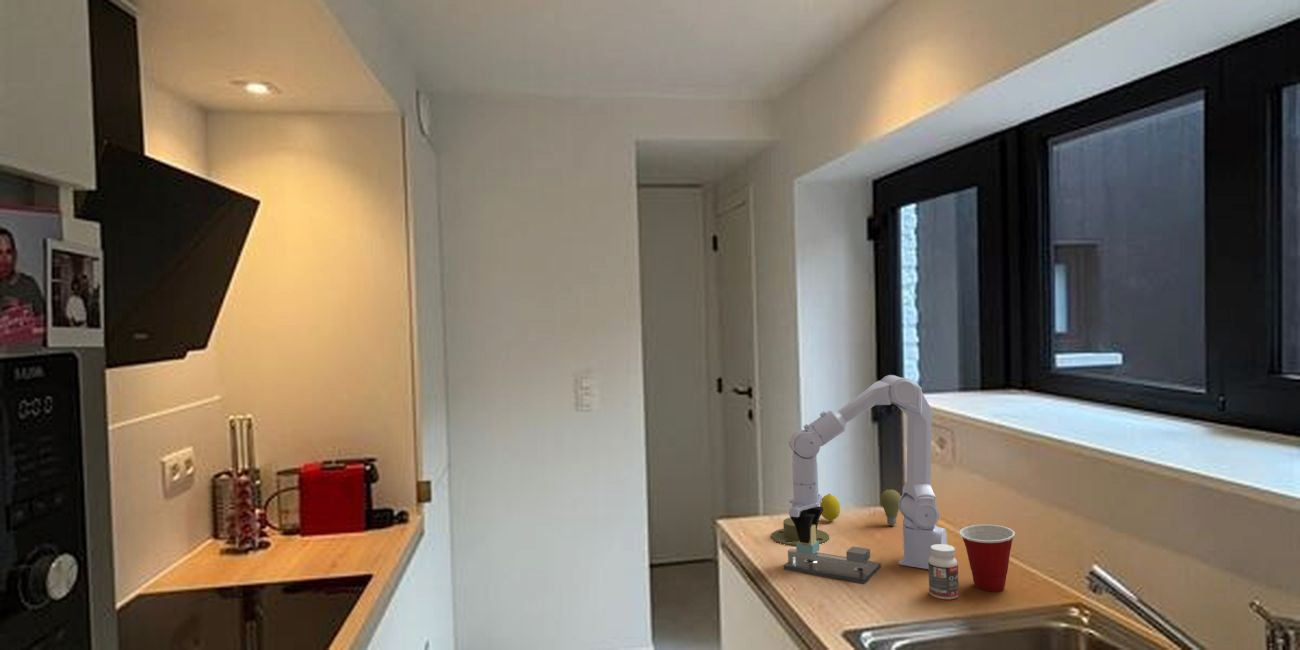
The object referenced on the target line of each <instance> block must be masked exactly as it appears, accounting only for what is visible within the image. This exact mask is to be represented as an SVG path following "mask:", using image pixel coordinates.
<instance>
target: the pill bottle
mask: <svg viewBox="0 0 1300 650" xmlns="http://www.w3.org/2000/svg"><path fill="white" fill-rule="evenodd" d="M931 553H932V556H930V558H929V560H928V566H929V569H928V592H929V593H930V595H931V596H932V597H934V598H936V599H941V600H954V599H955V600H956V598H958V597H959V589H960V588H959V587H960V586H959V563H958V560H957V559H956V558H955V555H956V549H955V547H954V546H952V545H951V544H947V545H946V544H935V545H932V546H931Z"/></svg>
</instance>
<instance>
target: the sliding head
mask: <svg viewBox="0 0 1300 650" xmlns="http://www.w3.org/2000/svg"><path fill="white" fill-rule="evenodd" d="M819 541H820V540H819ZM819 541H816V525H815V524H812V525H811V533H810V541H809V543H802V542H800V541H799V542H798V543H796V546H795V547H796V549H795V550H796V551H797V552H799V553H805V554H811V555H813V554H815V553H816V552H817V553H818V552H819V550H820V545H819ZM809 560H810V559H809ZM811 561H812V560H811Z"/></svg>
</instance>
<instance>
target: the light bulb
mask: <svg viewBox="0 0 1300 650" xmlns="http://www.w3.org/2000/svg"><path fill="white" fill-rule="evenodd" d="M901 496H902V495H901V494H900V492H898V491H897V490H895V489H892V488H891V489H889V488H887V489H886V490H884V491H882V493H881V494H880V497H879V499H880V504H881V507H882V509H883V511H884V515H885V516H886V520H887V521H886V522H887V525H889V526H890V527H894V526H895V525H896V524H897V517H898V513H899V511H900V510H899V500H900V498H901Z"/></svg>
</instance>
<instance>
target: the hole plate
mask: <svg viewBox="0 0 1300 650" xmlns="http://www.w3.org/2000/svg"><path fill="white" fill-rule="evenodd" d="M816 553H818V551H817V552H816ZM819 553H820V554H826V555H832V556H838V557H844V558H847V556H842V555H841V556H840V555H836V554H829V553H824V552H823V553H822V552H819ZM868 561H869V562H870V571H871V573H870V574H869V575H863V569H859V568H857V567H851V566H845V565H840V564H834V563H828V562H822V561H816V560H812V561H811V560H809V559H804V558H798V557H796V561H794V562H788V561H787V562H785V564H783V570H784V571H785V570H786V571H791V572H795V573H801V574H808V575H812V576H818V577H824V578H828V577H829V579H833V578H834V580H839V581H844V580H845V582H851V583H855V584H861V585H865V584H866V583H867V582H868V581H869V580H870V579H871V578H873V576H874V575H876V573H877V572H878V571H879V570H881V568H882V563H881V562H878V561H871V560H868ZM877 570H878V571H877Z"/></svg>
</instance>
